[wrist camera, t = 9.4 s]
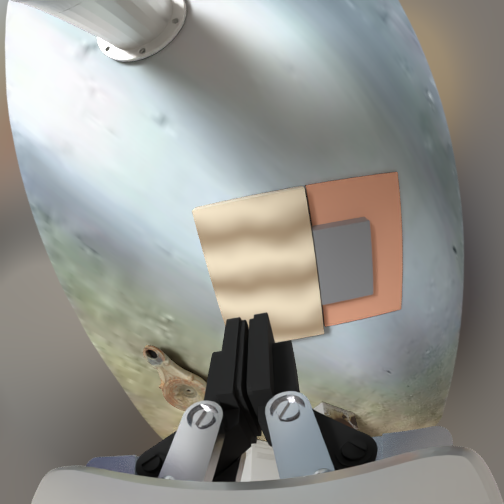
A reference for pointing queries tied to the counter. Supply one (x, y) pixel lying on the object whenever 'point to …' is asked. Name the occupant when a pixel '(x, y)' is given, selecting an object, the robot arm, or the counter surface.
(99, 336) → the counter surface
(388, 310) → the mat
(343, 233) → the tile
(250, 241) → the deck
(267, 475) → the supplement box
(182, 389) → the oil lamp
